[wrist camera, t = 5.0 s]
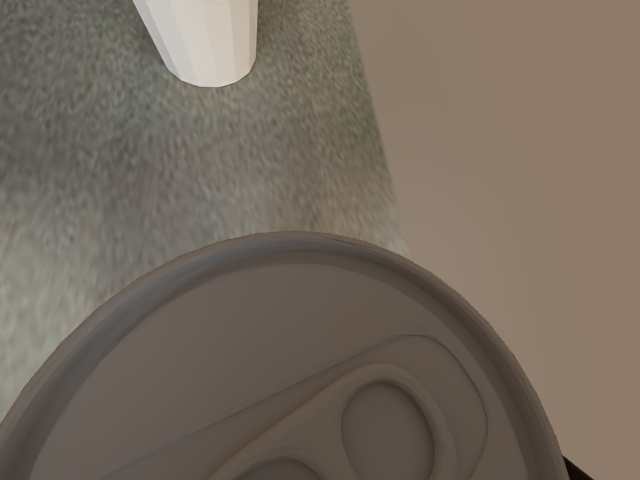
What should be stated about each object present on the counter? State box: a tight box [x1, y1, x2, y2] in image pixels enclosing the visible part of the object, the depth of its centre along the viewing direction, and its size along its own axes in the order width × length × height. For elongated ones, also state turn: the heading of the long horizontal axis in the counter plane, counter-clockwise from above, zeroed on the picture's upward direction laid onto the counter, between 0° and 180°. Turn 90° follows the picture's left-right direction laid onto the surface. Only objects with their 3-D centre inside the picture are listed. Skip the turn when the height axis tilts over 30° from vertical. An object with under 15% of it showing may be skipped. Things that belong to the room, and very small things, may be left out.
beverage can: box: [0, 231, 570, 480], centre depth 8 cm, size 6×6×12 cm
